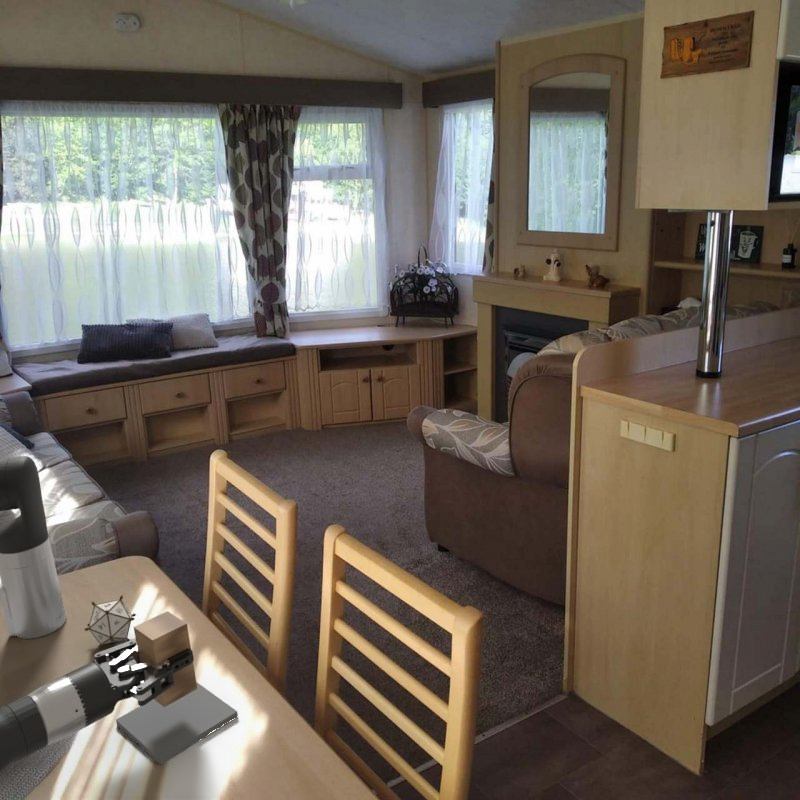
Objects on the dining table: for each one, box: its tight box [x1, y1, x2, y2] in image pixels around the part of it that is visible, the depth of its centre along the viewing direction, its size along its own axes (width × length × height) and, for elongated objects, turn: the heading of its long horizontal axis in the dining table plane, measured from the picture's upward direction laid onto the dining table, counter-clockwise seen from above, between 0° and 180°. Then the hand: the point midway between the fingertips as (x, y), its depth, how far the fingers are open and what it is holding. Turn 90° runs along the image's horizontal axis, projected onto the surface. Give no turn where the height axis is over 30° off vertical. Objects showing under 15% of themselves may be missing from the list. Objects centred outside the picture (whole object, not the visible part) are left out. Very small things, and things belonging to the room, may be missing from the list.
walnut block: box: [133, 610, 198, 707], centre depth 117 cm, size 6×6×11 cm
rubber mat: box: [115, 681, 239, 766], centre depth 121 cm, size 13×13×1 cm
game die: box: [83, 594, 137, 650], centre depth 142 cm, size 9×8×10 cm
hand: (180, 647), depth 119 cm, fingers closed on walnut block, 5 cm apart
